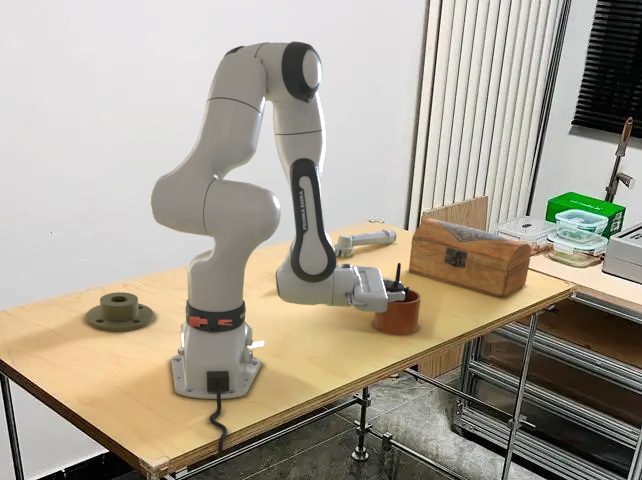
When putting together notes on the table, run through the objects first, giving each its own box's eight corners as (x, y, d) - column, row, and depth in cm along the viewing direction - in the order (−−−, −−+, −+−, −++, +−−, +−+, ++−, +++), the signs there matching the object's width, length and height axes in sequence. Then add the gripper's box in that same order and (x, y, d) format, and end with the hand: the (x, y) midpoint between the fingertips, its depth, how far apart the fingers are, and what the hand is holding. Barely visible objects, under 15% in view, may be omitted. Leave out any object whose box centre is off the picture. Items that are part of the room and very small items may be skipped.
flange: (113, 317, 176) (166, 299, 187) (71, 298, 184) (124, 282, 194) (115, 337, 178) (167, 318, 189) (73, 317, 186) (125, 300, 197)
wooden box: (405, 272, 229) (410, 224, 222) (434, 258, 241) (439, 213, 234) (500, 301, 214) (509, 251, 208) (526, 285, 227) (535, 237, 220)
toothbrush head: (399, 231, 249) (345, 235, 230) (395, 252, 251) (342, 258, 233) (386, 227, 252) (332, 230, 233) (382, 248, 254) (329, 253, 236)
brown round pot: (419, 335, 191) (423, 304, 187) (376, 333, 190) (379, 302, 186) (414, 318, 200) (417, 287, 196) (372, 316, 199) (375, 285, 195)
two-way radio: (388, 317, 197) (394, 259, 190) (406, 320, 197) (413, 262, 189) (384, 326, 193) (391, 267, 185) (403, 329, 192) (410, 270, 185)
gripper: (348, 291, 179) (409, 294, 180) (343, 260, 197) (399, 263, 198) (346, 317, 182) (406, 320, 183) (341, 285, 200) (396, 287, 201)
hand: (402, 290), depth 191 cm, fingers closed on two-way radio, 5 cm apart
